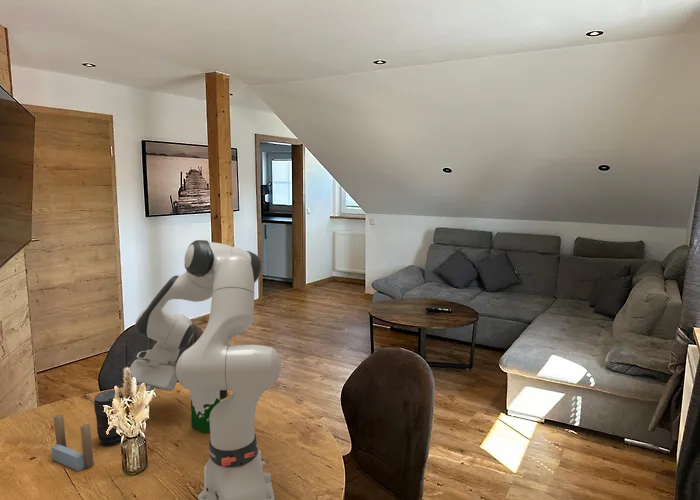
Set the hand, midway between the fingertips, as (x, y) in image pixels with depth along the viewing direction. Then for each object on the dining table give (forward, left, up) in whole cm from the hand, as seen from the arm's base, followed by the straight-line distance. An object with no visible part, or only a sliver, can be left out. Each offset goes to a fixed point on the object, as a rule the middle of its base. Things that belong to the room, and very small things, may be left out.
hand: (140, 398), depth 162 cm
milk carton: (-11, -19, -9) cm, 24 cm away
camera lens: (-6, +9, -9) cm, 14 cm away
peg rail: (-14, +20, -9) cm, 26 cm away
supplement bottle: (+10, -27, -9) cm, 30 cm away
